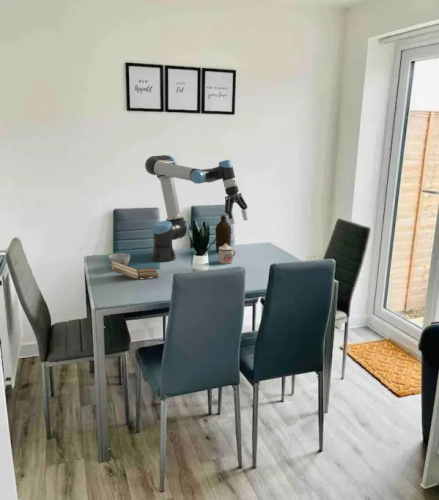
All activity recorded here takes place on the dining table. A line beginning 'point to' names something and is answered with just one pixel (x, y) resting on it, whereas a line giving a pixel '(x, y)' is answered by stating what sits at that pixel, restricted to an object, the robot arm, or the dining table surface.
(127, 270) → the oak plank
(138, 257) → the dining table surface
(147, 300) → the dining table surface
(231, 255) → the teacup with lid
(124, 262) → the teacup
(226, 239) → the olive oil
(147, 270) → the walnut floor section
